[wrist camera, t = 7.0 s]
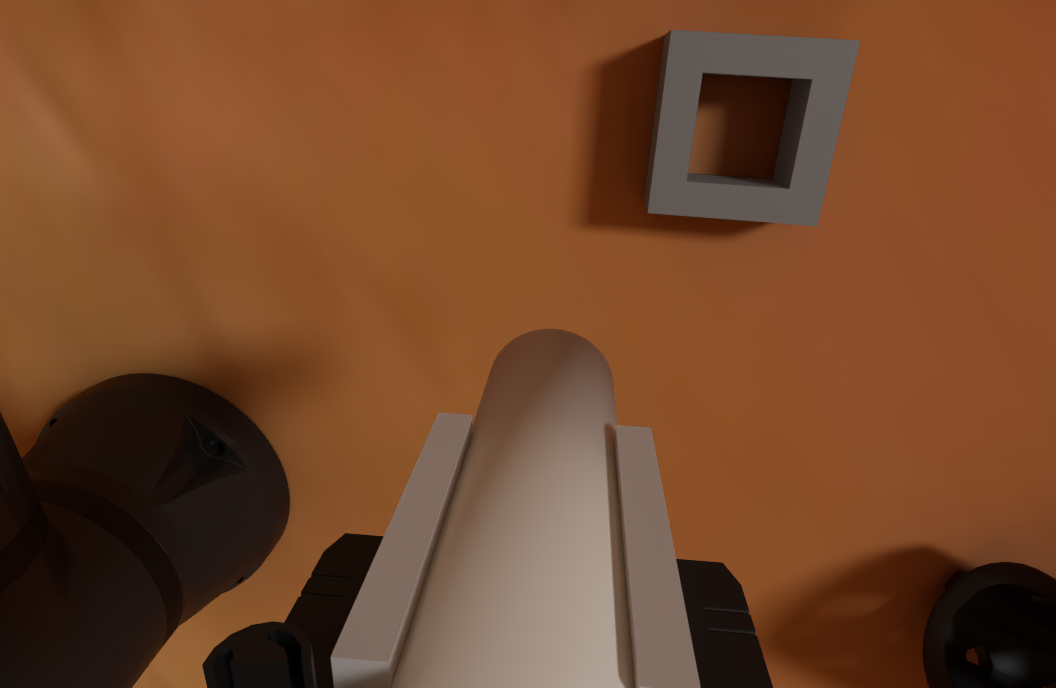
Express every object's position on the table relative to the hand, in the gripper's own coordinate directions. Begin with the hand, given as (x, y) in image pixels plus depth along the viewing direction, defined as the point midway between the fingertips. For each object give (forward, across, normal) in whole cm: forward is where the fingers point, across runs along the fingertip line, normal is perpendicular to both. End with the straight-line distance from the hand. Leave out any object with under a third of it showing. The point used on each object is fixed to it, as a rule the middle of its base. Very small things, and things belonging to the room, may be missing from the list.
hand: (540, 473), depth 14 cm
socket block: (+20, -8, -6) cm, 22 cm away
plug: (+4, 0, 0) cm, 4 cm away
